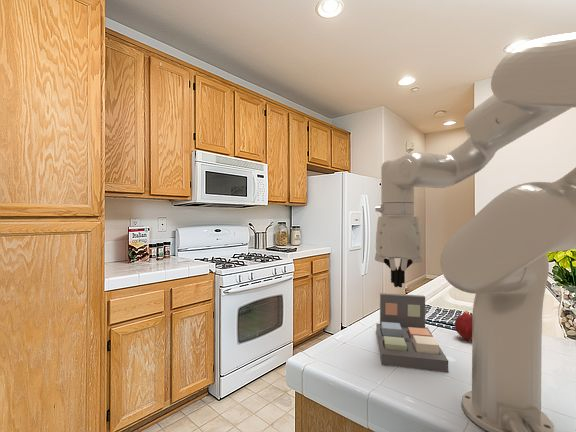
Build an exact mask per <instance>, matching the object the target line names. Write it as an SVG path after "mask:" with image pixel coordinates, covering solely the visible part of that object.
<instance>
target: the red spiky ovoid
mask: <svg viewBox="0 0 576 432" xmlns="http://www.w3.org/2000/svg"><path fill="white" fill-rule="evenodd" d="M472 321H473V315H471V313H470V312H469V311H468V310H465V311H464V313H462V314H460V315H458V317H456V319H455V321H454V328H455V331H456V333H458V335H459V336H460V337H461V338H463V340H466V341H469V340H472Z"/></svg>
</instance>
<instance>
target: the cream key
mask: <svg viewBox="0 0 576 432" xmlns="http://www.w3.org/2000/svg"><path fill="white" fill-rule="evenodd" d="M413 346H414V348H415V351H416V352H419V353H429V354H439V347H440V344H439V343H438V341H437V340H436V338H435V337H434V336H433V337H428V336H416V335H413Z"/></svg>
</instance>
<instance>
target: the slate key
mask: <svg viewBox="0 0 576 432" xmlns="http://www.w3.org/2000/svg"><path fill="white" fill-rule="evenodd" d="M381 331H382V336H389V337H400V338H402V328H401V326H400V323H391V322H381Z"/></svg>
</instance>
